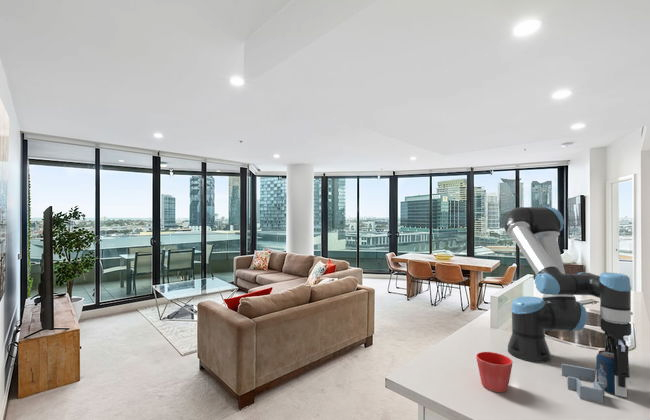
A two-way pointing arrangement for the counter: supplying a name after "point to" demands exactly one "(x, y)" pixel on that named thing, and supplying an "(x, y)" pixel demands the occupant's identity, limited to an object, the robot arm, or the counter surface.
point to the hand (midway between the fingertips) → (616, 389)
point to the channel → (574, 384)
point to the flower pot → (494, 370)
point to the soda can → (606, 370)
